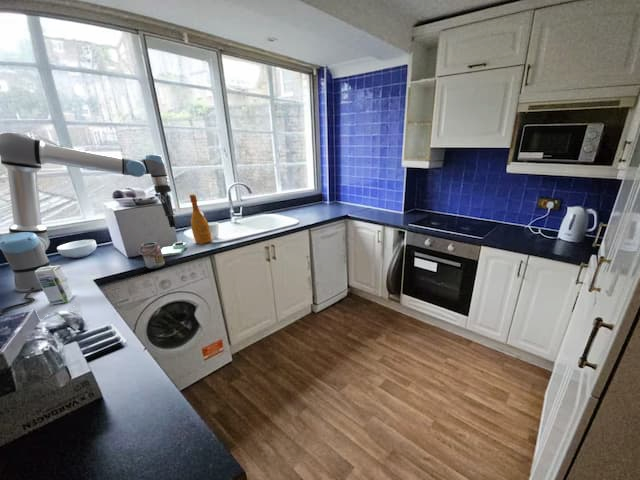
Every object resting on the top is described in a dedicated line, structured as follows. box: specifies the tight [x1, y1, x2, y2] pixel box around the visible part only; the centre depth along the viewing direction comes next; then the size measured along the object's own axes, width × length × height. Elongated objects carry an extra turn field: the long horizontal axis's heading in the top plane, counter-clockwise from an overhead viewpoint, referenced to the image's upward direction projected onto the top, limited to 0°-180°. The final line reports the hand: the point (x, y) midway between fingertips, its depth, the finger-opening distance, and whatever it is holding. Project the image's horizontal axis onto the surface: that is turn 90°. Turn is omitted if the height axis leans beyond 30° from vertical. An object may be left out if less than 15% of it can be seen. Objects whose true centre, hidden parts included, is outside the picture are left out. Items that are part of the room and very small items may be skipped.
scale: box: [160, 242, 187, 257], centre depth 172 cm, size 14×13×3 cm
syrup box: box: [34, 264, 74, 306], centre depth 116 cm, size 6×6×14 cm
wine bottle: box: [189, 194, 213, 245], centre depth 182 cm, size 10×10×30 cm
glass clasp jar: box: [138, 241, 166, 270], centre depth 149 cm, size 9×8×12 cm
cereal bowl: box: [56, 239, 98, 259], centre depth 168 cm, size 17×17×7 cm
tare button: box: [174, 240, 184, 246], centre depth 175 cm, size 4×4×2 cm
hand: (173, 226), depth 170 cm, fingers closed
